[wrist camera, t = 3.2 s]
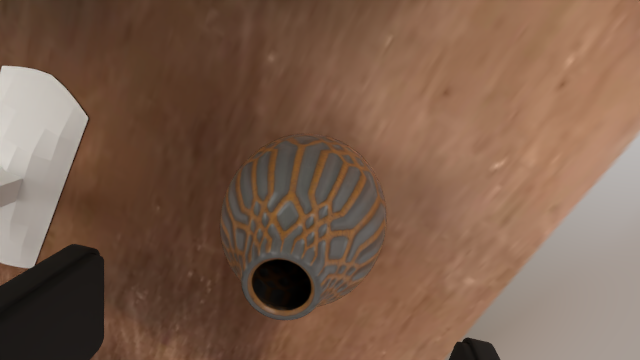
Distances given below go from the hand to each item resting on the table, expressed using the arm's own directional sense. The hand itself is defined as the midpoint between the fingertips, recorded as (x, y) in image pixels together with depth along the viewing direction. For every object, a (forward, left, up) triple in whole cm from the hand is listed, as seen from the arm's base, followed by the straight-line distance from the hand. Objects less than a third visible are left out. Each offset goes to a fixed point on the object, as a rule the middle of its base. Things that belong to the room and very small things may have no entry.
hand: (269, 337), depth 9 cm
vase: (-1, 0, -10) cm, 10 cm away
